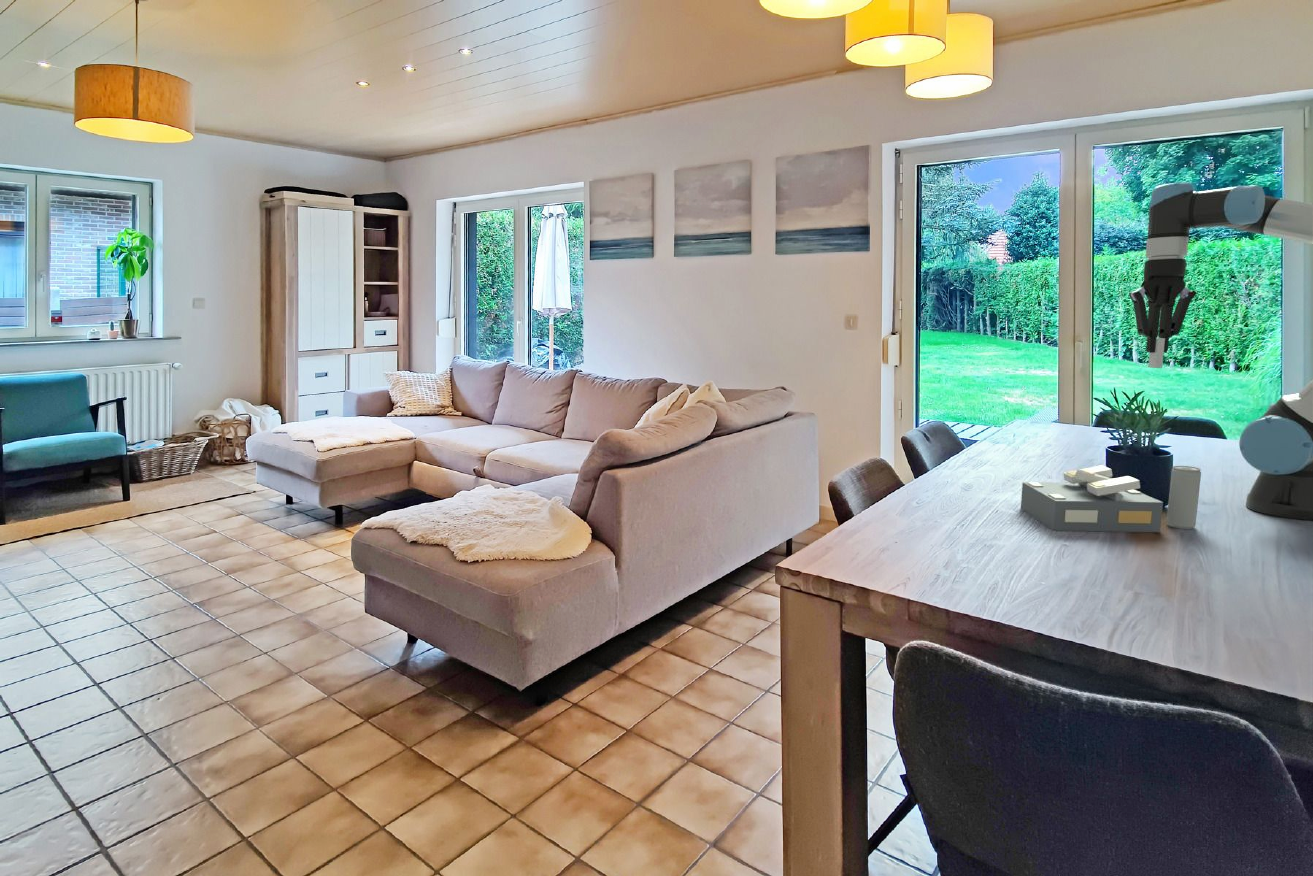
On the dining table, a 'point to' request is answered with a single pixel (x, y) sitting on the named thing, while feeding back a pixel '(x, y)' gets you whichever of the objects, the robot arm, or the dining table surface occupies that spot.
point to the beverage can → (1183, 497)
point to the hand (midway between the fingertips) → (1155, 367)
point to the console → (1090, 508)
